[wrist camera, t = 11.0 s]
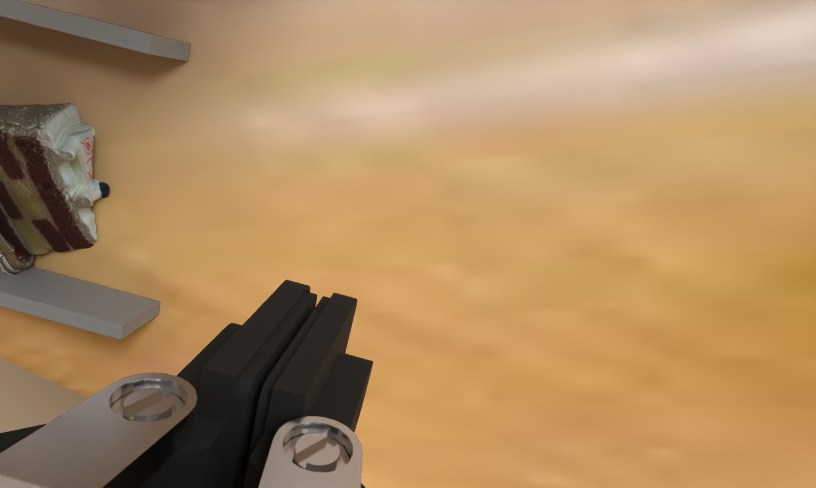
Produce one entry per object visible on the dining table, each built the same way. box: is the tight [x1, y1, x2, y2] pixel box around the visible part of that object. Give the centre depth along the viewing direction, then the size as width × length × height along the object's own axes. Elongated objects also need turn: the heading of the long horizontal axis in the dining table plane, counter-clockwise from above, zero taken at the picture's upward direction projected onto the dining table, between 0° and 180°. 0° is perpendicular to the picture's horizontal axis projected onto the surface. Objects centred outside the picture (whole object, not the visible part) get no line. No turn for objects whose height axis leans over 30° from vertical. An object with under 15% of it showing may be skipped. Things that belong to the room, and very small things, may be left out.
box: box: [0, 0, 190, 340], centre depth 31 cm, size 18×19×5 cm
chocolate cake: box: [0, 103, 110, 276], centre depth 32 cm, size 10×7×12 cm
